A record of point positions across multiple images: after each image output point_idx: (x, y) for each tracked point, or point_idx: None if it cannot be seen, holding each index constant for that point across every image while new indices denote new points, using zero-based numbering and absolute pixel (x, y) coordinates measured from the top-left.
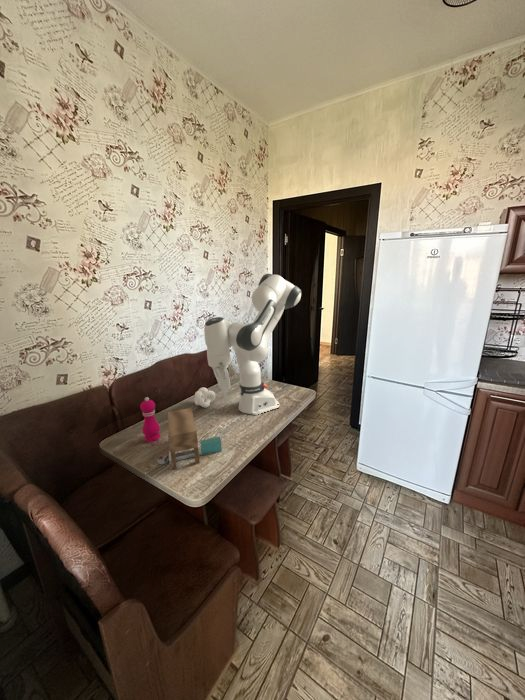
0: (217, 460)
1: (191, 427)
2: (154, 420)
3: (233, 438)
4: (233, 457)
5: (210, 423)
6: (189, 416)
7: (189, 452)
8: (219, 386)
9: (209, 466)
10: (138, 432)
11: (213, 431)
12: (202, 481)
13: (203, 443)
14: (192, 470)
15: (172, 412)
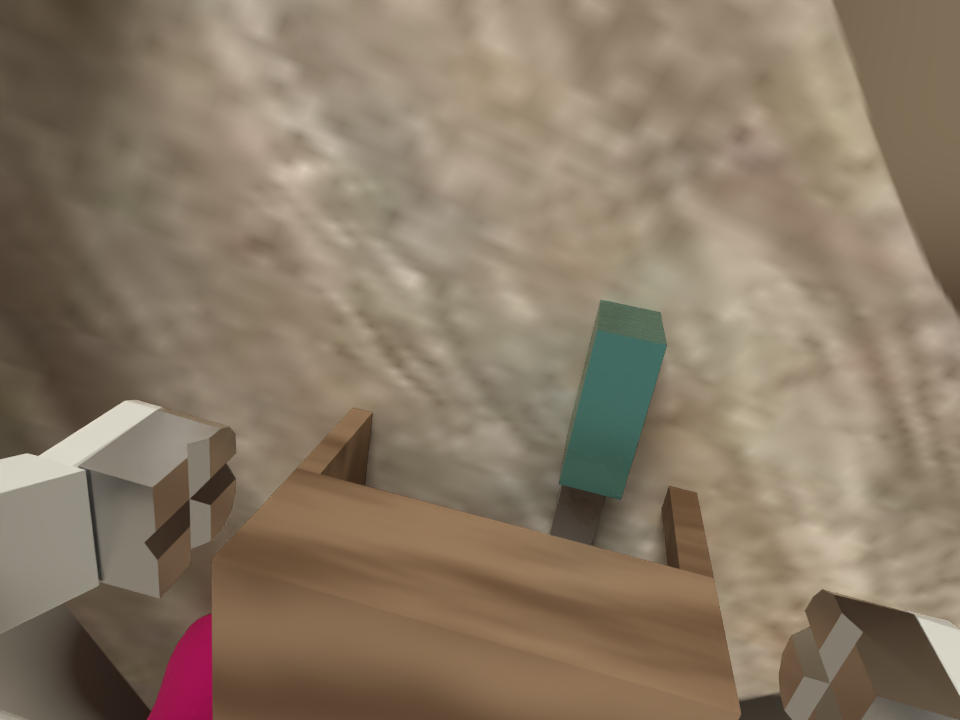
0: (752, 385)
1: (637, 718)
2: (201, 710)
3: (544, 149)
4: (805, 266)
5: (222, 237)
6: (395, 645)
7: (574, 529)
8: (204, 537)
9: (778, 456)
10: (172, 650)
11: (354, 262)
12: (895, 545)
13: (617, 480)
14: (740, 552)
15: (240, 715)
